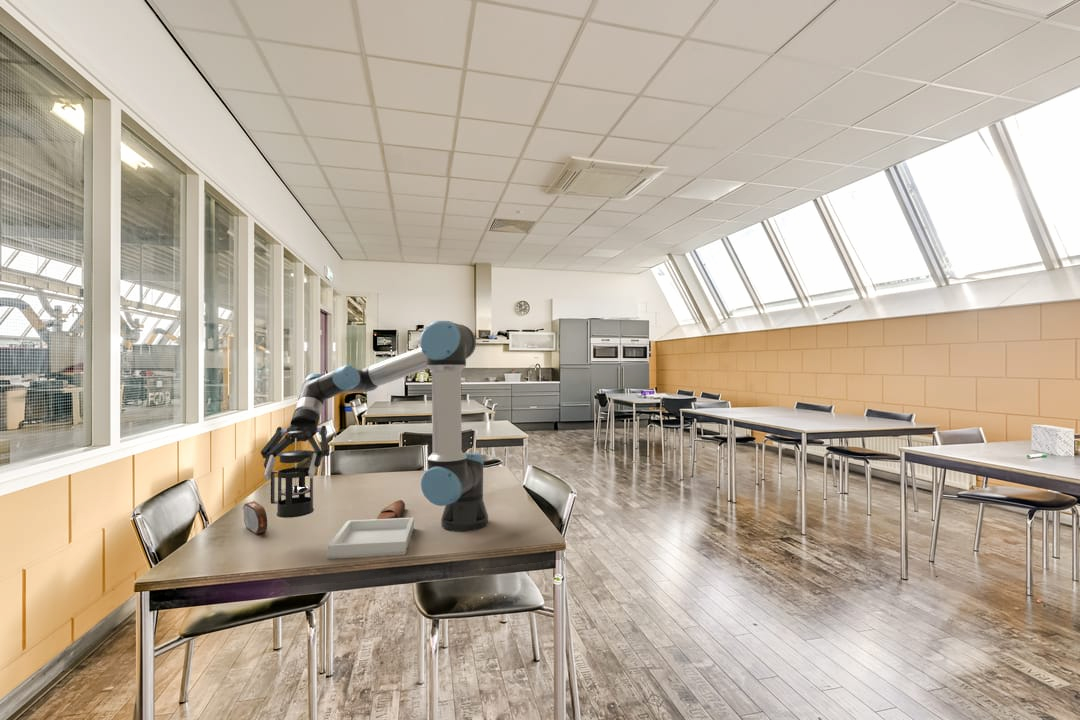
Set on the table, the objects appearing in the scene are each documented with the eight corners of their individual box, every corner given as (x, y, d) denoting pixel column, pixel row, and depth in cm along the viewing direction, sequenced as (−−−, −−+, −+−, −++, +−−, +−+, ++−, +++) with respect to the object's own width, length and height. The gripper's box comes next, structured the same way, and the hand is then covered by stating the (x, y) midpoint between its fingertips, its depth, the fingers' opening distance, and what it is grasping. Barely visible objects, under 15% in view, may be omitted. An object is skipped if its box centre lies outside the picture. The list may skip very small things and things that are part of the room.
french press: (321, 507, 140) (321, 428, 140) (308, 517, 131) (309, 432, 131) (279, 508, 139) (279, 429, 139) (263, 518, 130) (264, 433, 130)
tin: (268, 535, 145) (268, 507, 146) (256, 537, 143) (257, 509, 143) (252, 524, 156) (252, 498, 156) (241, 526, 153) (241, 500, 154)
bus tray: (413, 528, 151) (413, 517, 151) (405, 554, 130) (405, 541, 130) (347, 531, 148) (347, 520, 148) (327, 559, 126) (327, 545, 126)
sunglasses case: (380, 509, 172) (390, 493, 173) (397, 519, 173) (407, 502, 174) (372, 525, 154) (383, 507, 155) (391, 535, 155) (402, 517, 156)
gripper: (348, 422, 152) (335, 482, 137) (269, 424, 149) (247, 486, 133) (344, 406, 147) (330, 466, 132) (263, 408, 144) (238, 470, 128)
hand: (288, 476), depth 132 cm, fingers closed on french press, 11 cm apart
